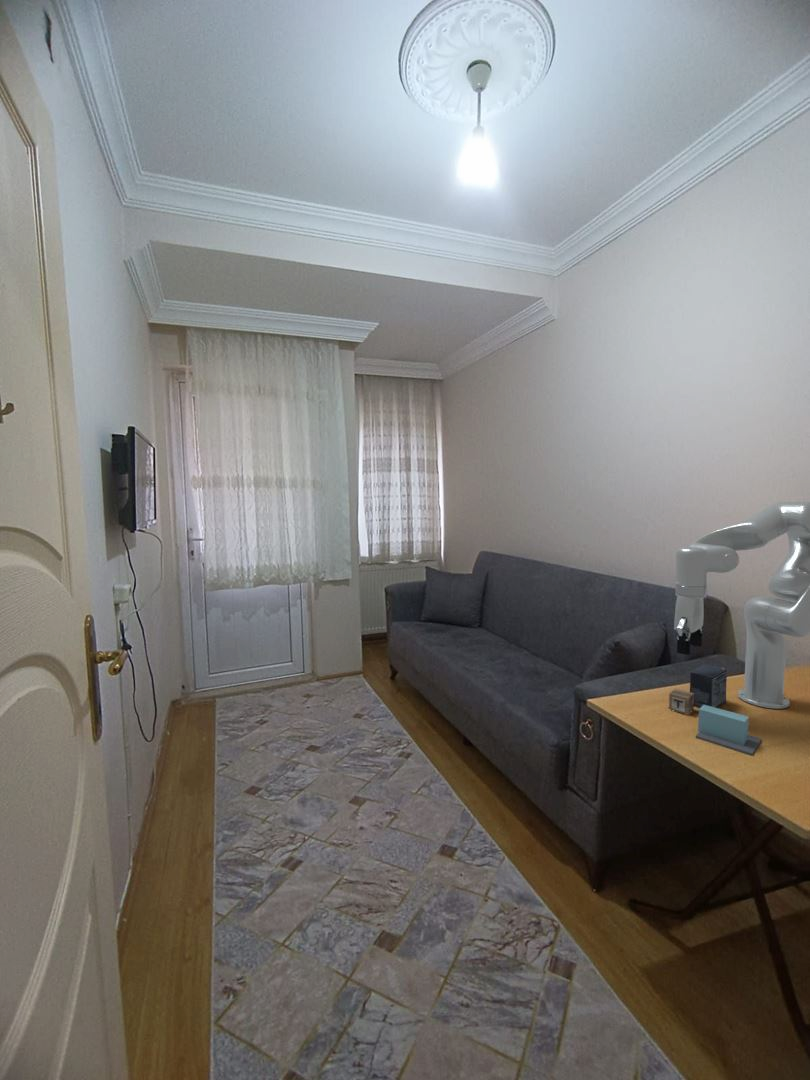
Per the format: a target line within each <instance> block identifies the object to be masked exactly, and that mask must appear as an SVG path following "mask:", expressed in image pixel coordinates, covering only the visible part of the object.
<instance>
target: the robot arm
mask: <svg viewBox="0 0 810 1080" xmlns="http://www.w3.org/2000/svg"><path fill="white" fill-rule="evenodd" d="M784 534H787V540H788V546H789V549H788V553H787V555H786V557H785V558H784V560H783V561H782V562H781V564H780V565H779V567H778V568H777V570H776V571H775V573H774V574H773V576H772V577H771V578H770V580H769V583H768V586H767V587H768V591H769V593H771V595H773V596H775V597H772V596H765V595H757V596H753V597H752V598H750V599H748V600H747V601H746V603H745V605H744V607H743V616H744V622H745V628H746V647H745V665H744V679H743V680H744V685H743V688H741V689H738V690H737V697H738V698H739V699H741V700H742V701H744V702H745V703H748V704H750V705H754V706H757V707H762V708H768V709H776V710H782V709H786V708H789V706H790V700H789V699H788V698H787V697H785V695H784V686H785V672H786V657H787V655H786V654H787V644H786V640H785V637H784V635H785V636H788V637H793V638H804V637H808V636H809V635H810V501H809V502H807V501H801V502H800V501H781V502H776V503H774V504H771V505H770V506H768V507H766V508H764V509H763V510H761V511H759V512H758V513H756V514H755V515H753V516H752V517H749V518H748V519H746V520H745V521H743V522H741V523H738V524H733V525H729V526H727V527H724V528H720V529H718V530H714V531H712V532H709V533H707V534H705V535H702V536H701V537H699V538H698V539H696V540H694V541H693V542H692V543H690V544H689V545H688V546H684V547H683V546H682V547H679V548H678V549H677V550H676V553H675V554H676V555H675V558H676V559H675V561H676V562H675V596H676V601H675V609H674V610H675V611H674V621H673V622H674V625H673V626H674V627H673V630H674V631H675V632H676V635H677V636H676V639H677V641H676V645H677V646H676V653H677V654H680V655H681V654H682V655H687V656H690V655H691V646H696V647H702V646H703V628H702V627H703V626H704V615H705V614H704V613H705V612H704V611H705V610H704V609H705V608H704V599H705V598H707V581H708V580H707V579H708V573H717V574H725V573H730V572H732V571H734V570H735V569H737V567H738V565H739V563H740V557H739V554H738V552H737V551H751V550H755V549H759V548H760V549H761V548H763V547H765V546H766V545H768V544H770V543H771V542H773V541H774V540H776V539H778V538H779V537H781V536H783V535H784ZM776 597H777V598H776Z"/></svg>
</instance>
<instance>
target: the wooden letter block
mask: <svg viewBox="0 0 810 1080" xmlns="http://www.w3.org/2000/svg"><path fill="white" fill-rule="evenodd" d="M668 695H669V696H668V697H669V698H668V699H669V700H668V710H669V709H671V710H670V711H672V710H674V711H673V712H675V711H677V712H676V713H679V712H680V713H679V714H682V713H684V714H683V715H685V714H687V715H686V716H689V715H690V714H691V713H692V712H693V711H694V710H695V706H694V693H691V692H690V691H686V690H684V689H683V690H682V689H679V688H674V689H673V690H672V691H670V692H669V694H668ZM691 711H692V712H691ZM690 712H691V713H690ZM689 713H690V714H689ZM688 714H689V715H688Z"/></svg>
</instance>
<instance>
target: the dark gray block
mask: <svg viewBox="0 0 810 1080" xmlns="http://www.w3.org/2000/svg"><path fill="white" fill-rule="evenodd" d="M695 738H696V739H700V740H702V741H705V742H708V743H712V744H714V745H718V746H721V747H724V748H728V749H731V750H733V751H737V752H739V753H744V754H746V755H748V756H753V755H754V753H755V752H756V751H757V749H758V747H759V745H760V744H761V742H762V738H760V737H758V736H753V735H750V734H748V740H747V741H746V743H745V744H744V745H741V744H738V743H735V742H732V741H728V740H725V739H722V738H719V737H715V736H712V735H709V734H706V733H702V732H699V731H698V732H697V734H696V735H695Z"/></svg>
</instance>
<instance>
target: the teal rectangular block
mask: <svg viewBox="0 0 810 1080" xmlns="http://www.w3.org/2000/svg"><path fill="white" fill-rule="evenodd" d="M749 717H750V716H747V715H744V714H740V713H736V712H733V711H729V710H726V709H721V708H720V707H718V708H715V707H711V706H707V705H703V706H702V707H701V708H699V709H698V724H697V731H698V733H699V732H702V733H706V734H709V735H712V736H715V737H719V738H722V739H725V740H728V741H732V742H735V743H738V744H741V745H744V744H745V743H746V741H747V740H748V735H749V719H750V718H749Z"/></svg>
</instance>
